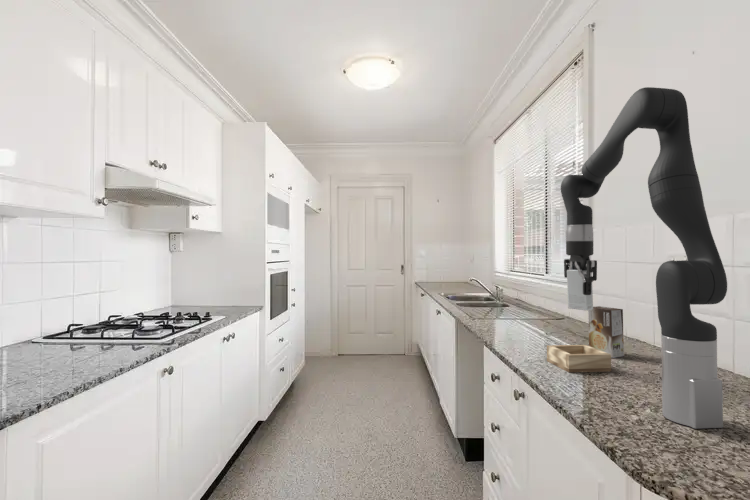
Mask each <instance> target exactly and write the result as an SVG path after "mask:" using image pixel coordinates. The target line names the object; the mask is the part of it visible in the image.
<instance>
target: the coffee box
mask: <svg viewBox="0 0 750 500" xmlns="http://www.w3.org/2000/svg"><path fill="white" fill-rule="evenodd" d="M587 311H588V312H587V314H588V318H587V319H588V346H590V347H593V348H595V349H598V350H601V351H603V352H606V353H609V354H611V359H613V358H614V359H615V358H621V357H624V356H625V352H624V351H625V350H624V349H625V347H624V342H625V341H624V309H623V308H614V307H608V306H600V305H599V306H593V309H592V310H587Z"/></svg>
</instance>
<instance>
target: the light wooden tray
mask: <svg viewBox="0 0 750 500" xmlns="http://www.w3.org/2000/svg"><path fill="white" fill-rule="evenodd" d="M546 362H548V363H550V364H552V365H554V366H556V367H558V368H559V369H561V370H563V371H565V372H567V373H594V372H595V373H598V372H604V373H605V372H612V358H611V354H609V353H606V352H603V351H601V350H598V349H595V348H593V347H590V346H589V345H587V344H562V345H559V344H555V345H553V344H552V345H551V344H550V345H546Z"/></svg>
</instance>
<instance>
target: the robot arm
mask: <svg viewBox="0 0 750 500" xmlns="http://www.w3.org/2000/svg"><path fill="white" fill-rule="evenodd" d="M688 112H689V111H688V103H687V100H686V97H685V95H684V94H683V93H682V91H680V90H678V89H675V88H666V87H665V88H663V87H653V86H651V87H649V86H648V87H647V86H646V87H642V88H639V89H638V90H636V91H635V92H634V93H633V94H632V95H631V96H630V97H629V99H628V100H627V101H626V103H625V104H624V106H623V108H622V109H621V111H620V112H619V114H618V115H617V117H616V118H615V120H614V121H613V123H612V125H611V127H610V128H609V130H608V131H607V134H606V135H605V137H604V138H603V140H602V142H601V143H600V145H599V146H598V147H597V148H596V149H595V151H594V152H592V154H591V155H590V156H589V157H588V159H587V160H585V162H584V163H583V164H582V167H581V173H582V174H569V175H568V174H567V175H566V176H565V177H564V178H563V179H562V180H561V184H560V193H561V197H562V200H563V203H564V207H565V210H566V229H565V230H566V231H565V254H566V255H567V256H570V257H569V258H565V259H564V260H563V273H564V278H566V279H567V270H578V273H579V275H580V276H581V277H582V280H583V294H584V295H591V283H592V284H593V283H594V281H597V279H598V277H597V276H598V274H597V273H598V262H597V261H598V260H594V259H593V260H591V259H590V256H593V255H594V227H593V209H592V207H591V206H589V205H586V204H582V203H581V201H580V199H588V198H589V199H590V198H592V197H594V196H595V195H597V194H598V193H599V191H600V189H601V187H602V185H603V183H604V181H605V179H606V177H608V175H609V174H611V173H612V172H613V170H614V169H615V168H617V166H618V165H619V163H620V162H621V160H622V158H623V156H624V149H625V141H626V140H627V138H628V137H629V136H630V135H631V134H632V133H633V132H634V131H636V130H637V129H649V130H655V131H656V132H657V133H656V134H657V135H658V140H659V146H660V147H659V148H660V149H659V152H658V153H659V154H658V157H657V158H656V160H655V162H654V164H653V166H652V167H651V170H650V172H649V175H648V178H647V187H648V193H649V194H648V195H649V199H650V203H651V207H652V210H653V211H654V213H655V214H656V216H657V217H658V218H659V219H660V220H661V221H662V222H663V224H664V225H665V226H667V228H669V229H670V231H672V233H673V234H674V235H675V237H677V238H678V240H679V241H680V243H681V245H682V247H683V249H684V252H685V255H686V258H687V260H667V261H664V262H663V263H662V264H660V266H659V268H658V270H657V272H656V277H655V291H656V302H657V303H656V304H657V317H658V322H659V325H660V330H661V331H660V332H661V334H660V335H661V336H660V338H661V395H662V396H661V398H662V403H661V404H662V407H661V408H662V410H661V411H662V413H661V414H662V415H663V417H664V418H665V419H668V420H669V421H672V422H674V423H677V424H680V425H684V426H687V427H691V428H693V429H717V428H718V429H719V428H724V417H723V416H724V413H723V412H724V408H723V405H724V404H723V402H724V401H723V380H722V379H721V378H718V331H717V327H716V326H715V325H714V324H712V323H710V322H706V321H704V320H700V319H698V318H697V317H695V316H694V315H693V313H692V310H691V305H717V304H720V303H721V302H722V301H724V299H725V297H726V295H727V292H728V278H727V275H726V270H725V268H724V264H723V261H722V258H721V256H720V253H719V250H718V248H717V245H716V243H715V240H714V237H713V233H712V230H711V226H710V223H709V219H708V215H707V211H706V207H705V203H704V195H703V192H702V187H701V183H700V178H699V175H698V171H697V167H696V162H695V158H694V152H693V147H692V144H691V143H692V141H691V136H690V123H689V113H688ZM584 270H587V272H583V271H584ZM591 274H592V276H591ZM585 275H586V277H585Z"/></svg>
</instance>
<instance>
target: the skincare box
mask: <svg viewBox="0 0 750 500" xmlns="http://www.w3.org/2000/svg"><path fill="white" fill-rule="evenodd" d="M583 272H587V270H584V271H583ZM591 276H592V277H593V273H592V274H591ZM585 277H586V275H585ZM566 286H567V287H566V290H567V308H568V309H570V310H571V309H572V310H579V311H580V310H581V311H588V310H592V309H593V307H594V301H593V300H594V298H593V294H594V293H593V292H594V290H593V282H592V283H591V295H584V294H583V280H582V277H581V276H580V275H579V273H578V270H567V278H566Z"/></svg>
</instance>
